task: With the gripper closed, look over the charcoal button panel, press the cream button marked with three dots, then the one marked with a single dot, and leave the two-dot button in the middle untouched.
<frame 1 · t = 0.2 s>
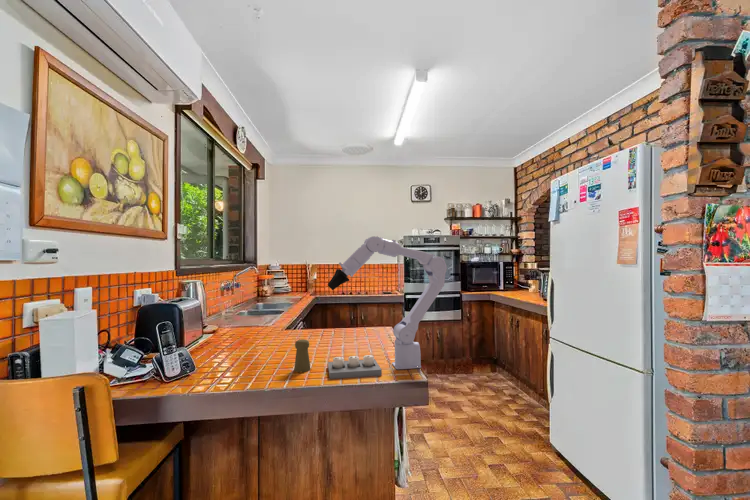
hand: (329, 287, 135), 30 cm above the table, tool tilted 45°, fingers open, 7 cm apart
cork: (302, 370, 137), on the table
button 1: (368, 360, 135), point 4 cm above the table, slide at 0.0 cm
button 3: (338, 362, 133), point 4 cm above the table, slide at 0.0 cm
button 2: (353, 361, 134), point 4 cm above the table, slide at 0.0 cm
button panel: (353, 371, 134), on the table
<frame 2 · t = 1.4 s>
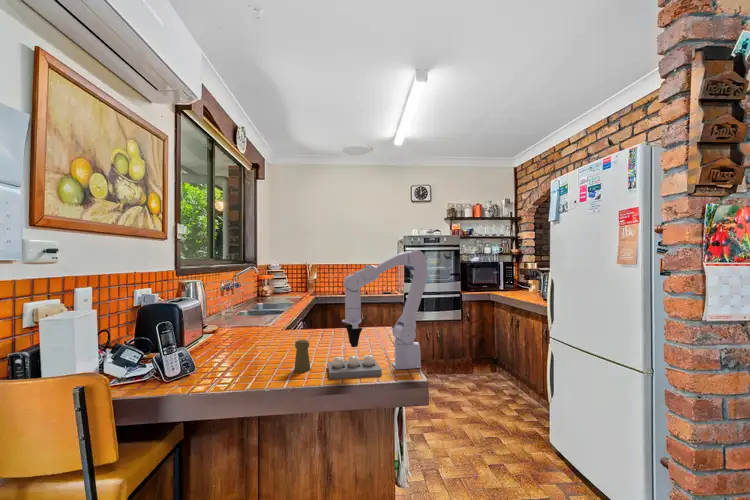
hand: (353, 345, 134), 9 cm above the table, tool pointing down, fingers open, 5 cm apart
nothing on the table moved.
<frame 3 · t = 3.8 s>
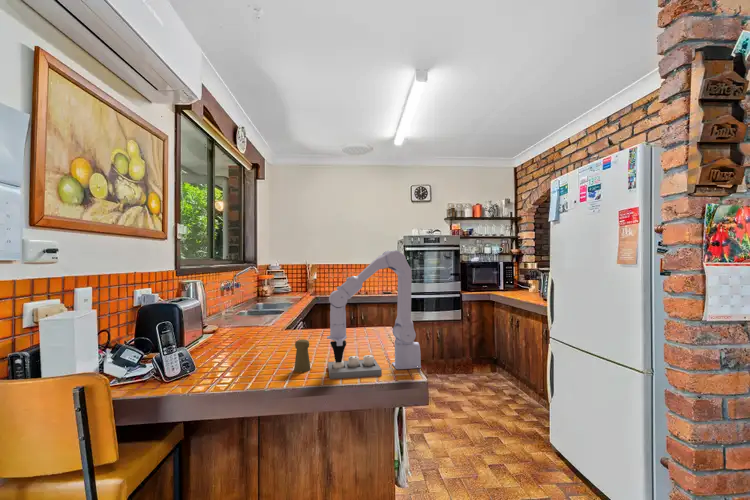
hand: (338, 361, 133), 4 cm above the table, tool pointing down, fingers closed, pressing on button 3
button 3: (338, 365, 133), point 2 cm above the table, slide at 1.3 cm, touching gripper
everything else where it was.
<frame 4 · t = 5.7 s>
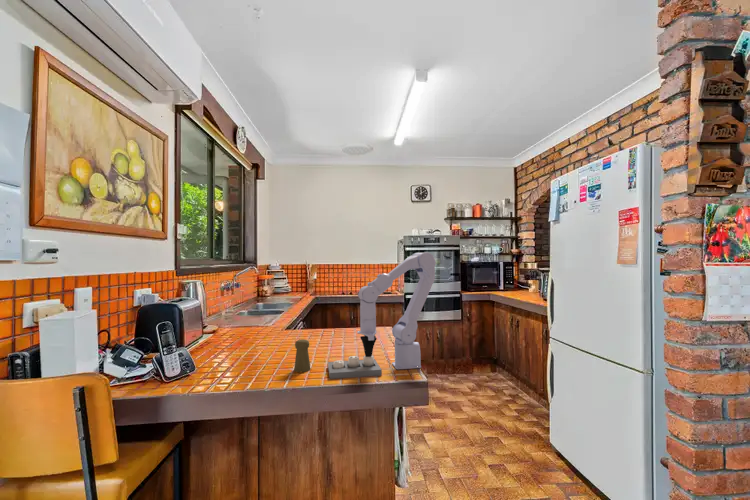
hand: (368, 356, 135), 5 cm above the table, tool pointing down, fingers closed, pressing on button 1
button 1: (368, 360, 135), point 4 cm above the table, slide at 0.0 cm, touching gripper
button 3: (338, 366, 133), point 2 cm above the table, slide at 1.3 cm
everything else where it was.
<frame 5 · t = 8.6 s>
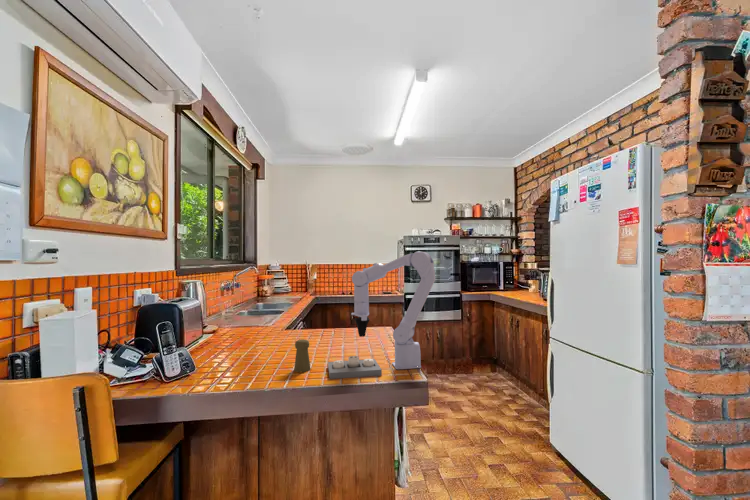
hand: (361, 336, 145), 10 cm above the table, tool pointing down, fingers closed
button 1: (368, 364, 135), point 2 cm above the table, slide at 1.3 cm
everything else where it was.
at the end: button 3 slide at 1.3 cm; button 1 slide at 1.3 cm; button 2 slide at 0.0 cm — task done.
